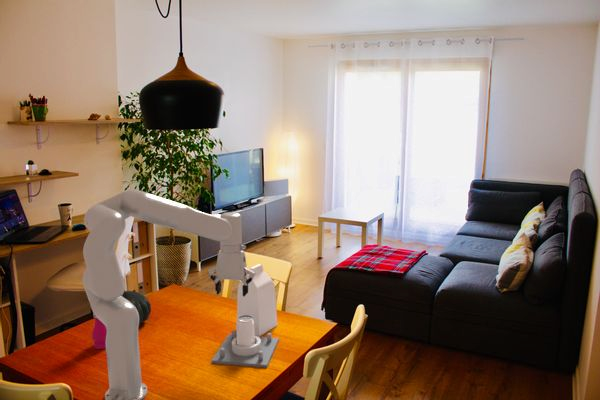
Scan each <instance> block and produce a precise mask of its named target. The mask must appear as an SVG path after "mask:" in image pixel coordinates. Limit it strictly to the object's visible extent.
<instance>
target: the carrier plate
mask: <svg viewBox="0 0 600 400" xmlns="http://www.w3.org/2000/svg"><path fill="white" fill-rule="evenodd" d="M266 333H267V334H266V335H267V336H256V335H254V340H255V344H254V345H252V346H247V347H244V346H239V345H237V332H236V330H235V329H234V330H231V333H228V335H227V336H226V338H225V339H224V340H223V342H222V344H221V346H220V347H219V349H218V350H217V352H216V353H215V354H214V356H213V358H212V359H211V364H220V365H230V366H231V365H233V366H244V367H254V368H255V367H256V368H268V366H269V364H270V361H271V359H272V357H273V355H274V352H275V350H276V348H277V345H278V343H279V341H280V339H279V337H272V333H271V332H266Z"/></svg>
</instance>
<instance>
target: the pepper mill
mask: <svg viewBox="0 0 600 400" xmlns="http://www.w3.org/2000/svg"><path fill="white" fill-rule="evenodd" d="M90 310H91V311H92V316H93V318H94V326H93V329H92V332H91V338H92V340H93V341H94V342H93V347H94V349H96V350H102V349H105V350H106V335H107V329H106V326H105V325H104V324H103V323H102V322H101V321H100V320H99V319H98V318H97V317H96V316H95V314H94V312H93V310H92V308H91V307H90Z"/></svg>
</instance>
